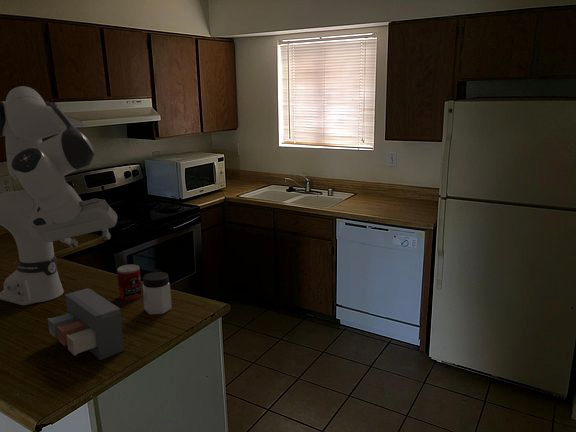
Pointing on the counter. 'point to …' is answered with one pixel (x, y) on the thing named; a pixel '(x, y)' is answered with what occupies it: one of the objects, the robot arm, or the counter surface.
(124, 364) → the counter surface
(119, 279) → the canned food
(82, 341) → the ivory key
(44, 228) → the robot arm
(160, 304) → the jar
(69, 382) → the counter surface
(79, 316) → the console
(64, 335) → the brick key
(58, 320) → the blue-grey key
